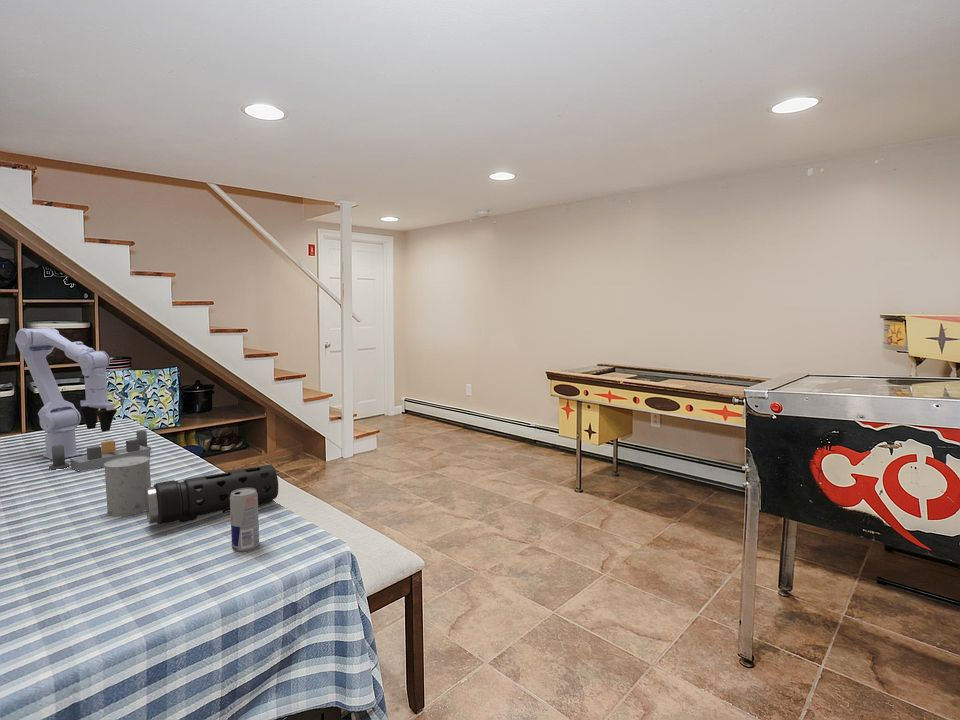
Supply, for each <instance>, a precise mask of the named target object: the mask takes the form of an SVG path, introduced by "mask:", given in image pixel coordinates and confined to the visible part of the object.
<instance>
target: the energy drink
mask: <svg viewBox="0 0 960 720" xmlns="http://www.w3.org/2000/svg"><path fill="white" fill-rule="evenodd" d="M229 512H230V531H231V532H230V534H231V536H230V537H231V548H232V550H234V551H236V552H247V551H251V550H254V549H255V548H257V547H258V546H259V544H260V524H259V521H260V520H259V505H258V494H257V492H256V489H254V488H241V489H237V490H234V491H232V492H231V496H230V510H229Z"/></svg>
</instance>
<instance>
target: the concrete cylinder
mask: <svg viewBox="0 0 960 720" xmlns="http://www.w3.org/2000/svg"><path fill="white" fill-rule="evenodd" d="M150 460H151V457H147V456H128V457H122V458H117V459H113V460H110V461H107V462H105V463H104V467H103V468H104V479H105V493H106V495H105V496H106V507H107V508H106V509H107V510H106V513H107V515H108V516H112V517H126V516H133V515H136V514H140V513H143V512H146V505H145V489H146V488H148V487H152V483H151V482H152V480H151V479H152V478H151V466H150V465H151V464H150V463H151V462H150Z"/></svg>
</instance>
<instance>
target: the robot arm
mask: <svg viewBox="0 0 960 720" xmlns="http://www.w3.org/2000/svg"><path fill="white" fill-rule="evenodd" d="M14 341H15V344H16V345H17V348H18V351H19V353H20V355H21V356H22V357H23V360H24V361H25V363H26V365H27V369H28V371H29V373H30V374H31V375H30V376H31V377H32V380H33V382H34V385H35V387H36V389H37V391H38V393H39V396H40V398H41V401H42V403H43V406H42V407H41V408H40V409H39V411H38V412H37V415H38V418H39V419H38V420H39V426H40V428H41V429H42V430H43V431H44V432H45V433H46V434H45V436H44V437H45V438H44V440H45V442H44V443H45V453H43V454H42V456H43V457H44V458H48V459H50V460H51V461H53V459H52V447H53V446H58V445H64V454H65V459H67V458H72V457H76V456H77V457H79V456H81V455H82V453H81V452H79V451H78V450H77V440H76V439H77V438H76V429H78V426H79V425H80V423H81V420H82V418H83V420H84V423H85V426H86V428H87V430H91V429H92V430H93V429H96V427H97V418H98V421H99V424H100V425H99V426H100V430H101V432H102V433H103V432H104V433H105V432H109V431H111V427H112V422H113V419H114V418H115V416H116V414H117V412H118V410H117V408H115V403H113V402H110V401H109V400H108V385H107V382H108V381H107V368H108V367H109V366H110V363H111V359H110V356H109V354H108V353H107V352H106V351H105V350H99V351H98V350H94V348H93V347H89V346H87V345H85V344H84V342H82V341H81V340H80V341H71V340H69V339H68V338H67V337H64V336H63V335H61V334H60V332H59V330H58V329H55V328H54V327H43V328H42V327H41V328H40V327H38V328H37V327H35V328H26V327H25V328H20V329H18V331H17V332H16V336H15V339H14ZM54 349H59V350H61V351H63V352H64V356H66V357H67V358H69V359H70V360H73V361H74V362H76V363H77V364H78V365H79V367H80V369H81V373H82V376H84V390H85V391H84V392H85V399H83V400H80V402H79V403H80V407H81V408H78V409H77V408H76V407H75V405H74V403H72V402H70V401H68V400H65V399H64V397H63V394H62V393H61V390H60V387H59V386H58V384H57V381H56V379H55V376H54V374H53V372H52V370H51V367H50V365H49V362H48V360H47V356H48V355H50V354H51V353H52V352H53V350H54ZM99 409H100V410H99Z"/></svg>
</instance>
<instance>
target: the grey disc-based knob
mask: <svg viewBox="0 0 960 720" xmlns="http://www.w3.org/2000/svg"><path fill="white" fill-rule="evenodd" d="M52 459H53V460H52ZM52 459H51V460H52V464H51V465H49V466H48V470H49V469H51V470H56V469H64V468H67V467H69V466H70V462H66V458H65V454H64V445H58V446H53V447H52ZM69 468H70V467H69ZM67 469H68V468H67ZM64 470H65V469H64Z"/></svg>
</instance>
